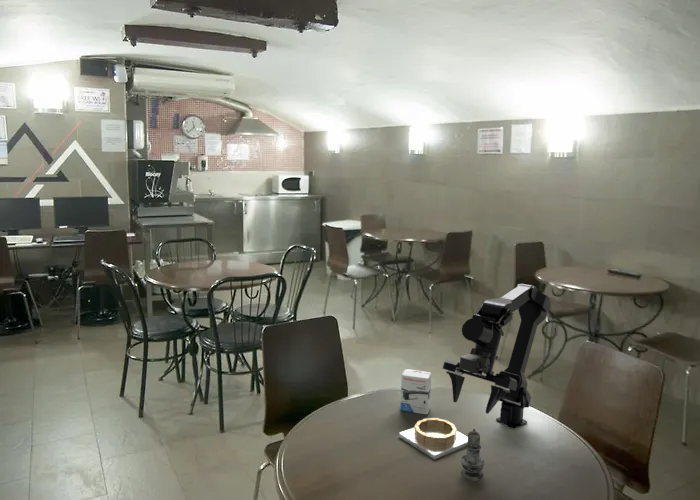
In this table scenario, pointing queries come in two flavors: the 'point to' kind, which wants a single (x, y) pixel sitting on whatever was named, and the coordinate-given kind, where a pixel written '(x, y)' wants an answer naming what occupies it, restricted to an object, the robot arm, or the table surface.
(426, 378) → the ink box
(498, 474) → the table surface
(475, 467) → the grey stone tall piece
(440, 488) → the table surface
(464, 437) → the socket plate
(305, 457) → the table surface
